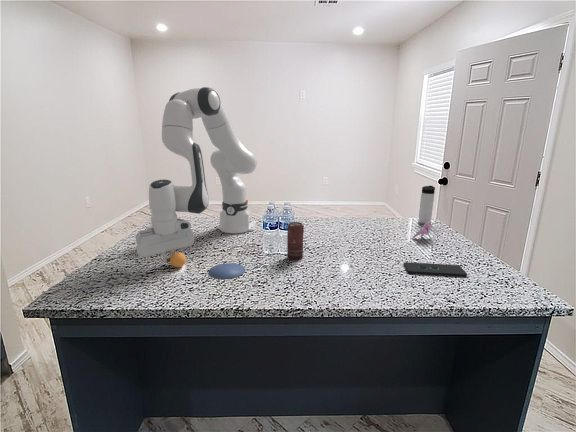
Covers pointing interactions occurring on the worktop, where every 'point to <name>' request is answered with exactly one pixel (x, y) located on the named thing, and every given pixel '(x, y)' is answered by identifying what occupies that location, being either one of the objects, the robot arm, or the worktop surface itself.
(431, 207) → the travel mug
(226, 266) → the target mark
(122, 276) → the worktop surface
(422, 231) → the pink bird figurine
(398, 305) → the worktop surface
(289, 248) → the can
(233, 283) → the worktop surface
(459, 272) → the smart home device
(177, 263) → the ball
